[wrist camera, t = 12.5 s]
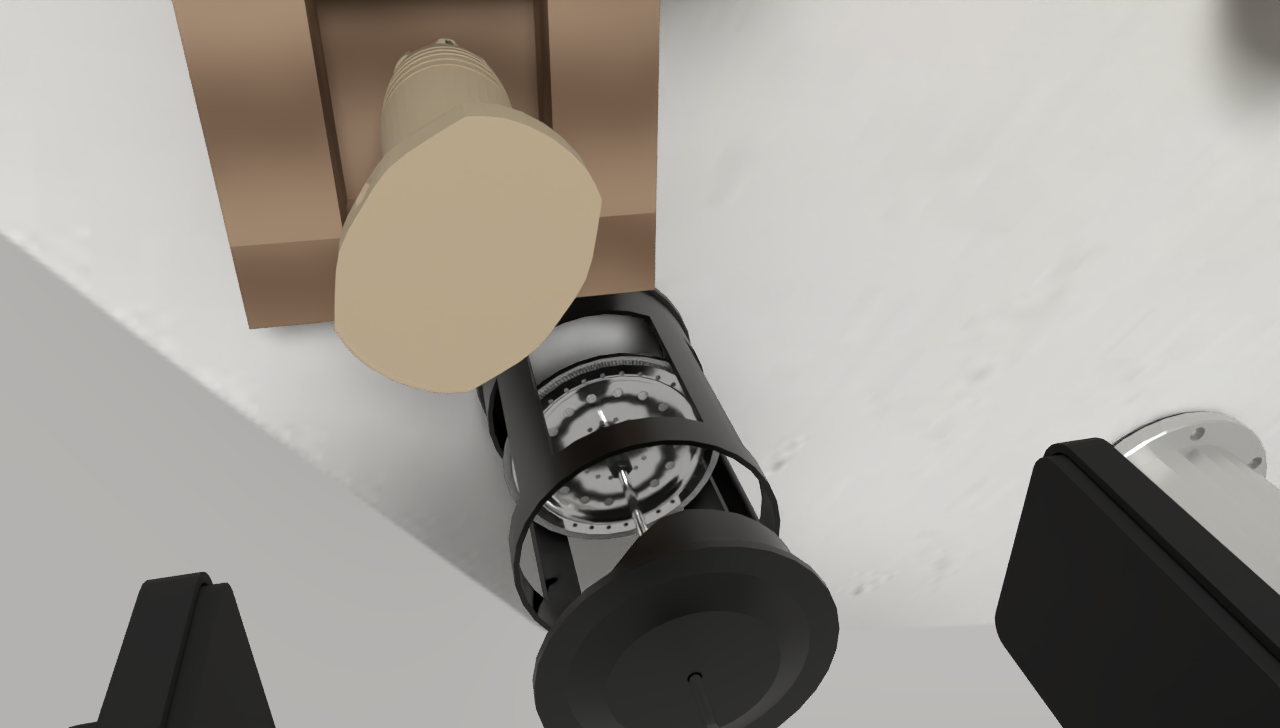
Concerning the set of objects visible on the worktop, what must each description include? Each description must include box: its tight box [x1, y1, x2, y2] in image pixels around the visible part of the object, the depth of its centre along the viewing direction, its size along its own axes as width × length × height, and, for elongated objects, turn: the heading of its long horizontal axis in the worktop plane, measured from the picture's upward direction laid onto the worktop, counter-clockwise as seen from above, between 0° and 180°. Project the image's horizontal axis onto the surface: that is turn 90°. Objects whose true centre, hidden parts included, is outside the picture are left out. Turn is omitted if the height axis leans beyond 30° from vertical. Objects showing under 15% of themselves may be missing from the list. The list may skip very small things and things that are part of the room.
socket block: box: [172, 0, 660, 329], centre depth 31 cm, size 14×14×4 cm
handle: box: [334, 36, 602, 393], centre depth 26 cm, size 5×6×15 cm
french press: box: [477, 288, 839, 728], centre depth 31 cm, size 12×9×23 cm
